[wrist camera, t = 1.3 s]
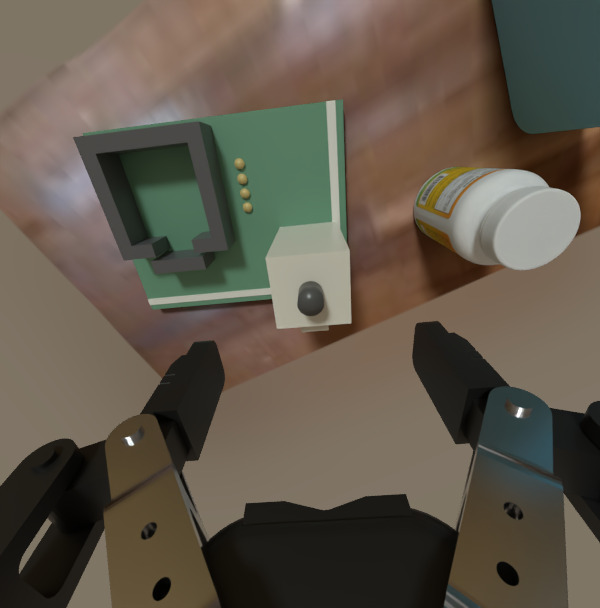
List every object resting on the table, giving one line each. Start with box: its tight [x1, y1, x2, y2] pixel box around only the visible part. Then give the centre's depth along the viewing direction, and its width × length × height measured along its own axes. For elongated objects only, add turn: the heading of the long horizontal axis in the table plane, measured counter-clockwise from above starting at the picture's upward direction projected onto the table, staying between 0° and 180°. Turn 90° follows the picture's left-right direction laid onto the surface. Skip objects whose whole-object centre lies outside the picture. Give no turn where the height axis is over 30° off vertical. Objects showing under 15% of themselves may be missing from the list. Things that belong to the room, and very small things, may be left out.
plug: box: [265, 221, 351, 332], centre depth 19 cm, size 4×6×10 cm
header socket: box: [73, 121, 252, 274], centre depth 20 cm, size 10×9×2 cm
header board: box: [83, 100, 347, 309], centre depth 22 cm, size 18×14×1 cm
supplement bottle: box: [414, 167, 581, 270], centre depth 18 cm, size 5×5×10 cm
